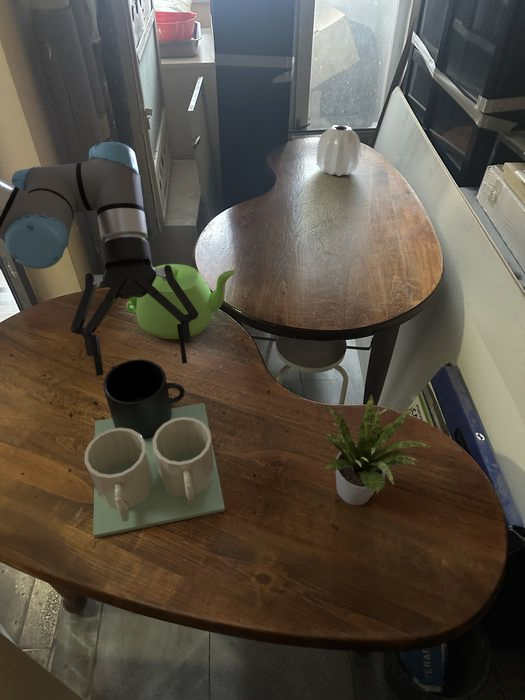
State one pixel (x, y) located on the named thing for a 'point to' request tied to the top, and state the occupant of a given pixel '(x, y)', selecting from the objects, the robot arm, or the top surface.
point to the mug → (140, 396)
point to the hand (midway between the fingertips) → (143, 369)
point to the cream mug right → (180, 440)
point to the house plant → (367, 455)
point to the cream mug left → (111, 453)
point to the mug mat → (158, 490)
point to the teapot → (196, 290)
